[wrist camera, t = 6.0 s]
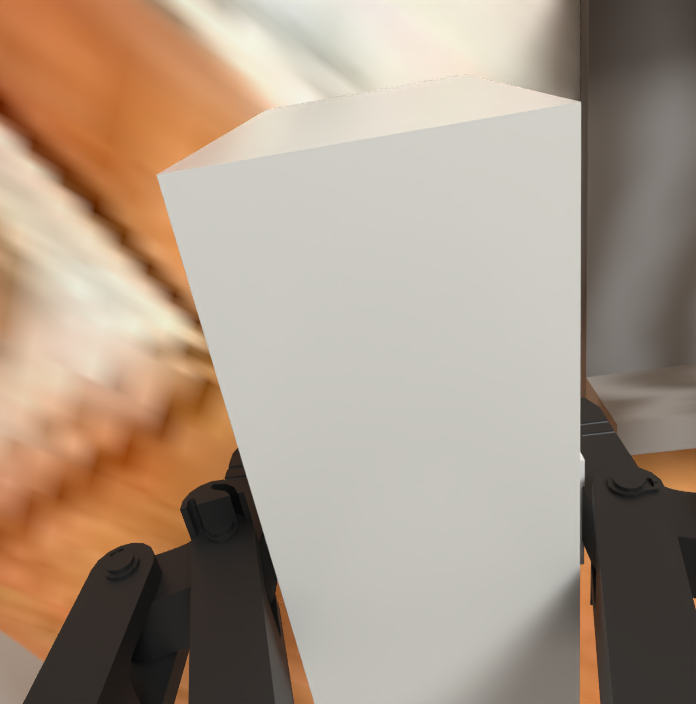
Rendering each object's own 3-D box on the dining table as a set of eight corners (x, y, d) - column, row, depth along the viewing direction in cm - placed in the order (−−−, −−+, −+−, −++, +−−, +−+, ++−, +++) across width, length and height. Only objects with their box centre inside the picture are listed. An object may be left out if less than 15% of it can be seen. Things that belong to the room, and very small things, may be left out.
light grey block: (363, 569, 22) (361, 861, 14) (267, 109, 15) (156, 175, 7) (500, 555, 22) (579, 850, 14) (465, 74, 15) (580, 102, 7)
